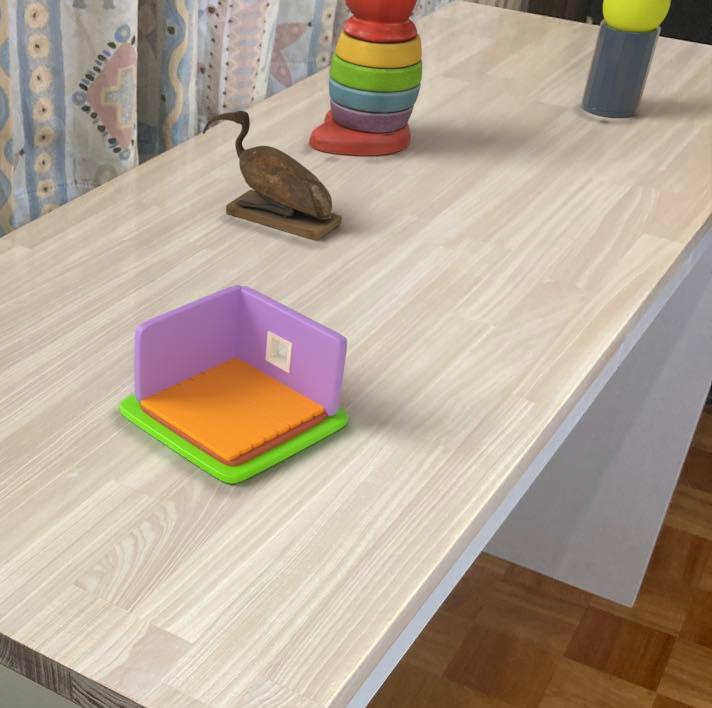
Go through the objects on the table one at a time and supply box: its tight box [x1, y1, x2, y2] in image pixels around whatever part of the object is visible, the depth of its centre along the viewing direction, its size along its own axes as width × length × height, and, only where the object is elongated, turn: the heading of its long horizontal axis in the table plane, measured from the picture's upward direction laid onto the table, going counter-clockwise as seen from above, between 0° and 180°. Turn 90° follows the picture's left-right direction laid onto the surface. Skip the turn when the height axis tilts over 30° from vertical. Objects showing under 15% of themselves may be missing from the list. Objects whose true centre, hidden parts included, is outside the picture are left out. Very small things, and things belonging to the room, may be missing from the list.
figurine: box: [202, 110, 343, 241], centre depth 103 cm, size 14×4×9 cm, turn 56°
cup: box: [580, 18, 662, 119], centre depth 127 cm, size 6×6×9 cm
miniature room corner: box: [119, 284, 349, 485], centre depth 77 cm, size 12×12×7 cm
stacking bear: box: [308, 0, 423, 156], centre depth 115 cm, size 11×10×18 cm
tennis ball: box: [602, 0, 672, 32], centre depth 122 cm, size 7×7×7 cm
